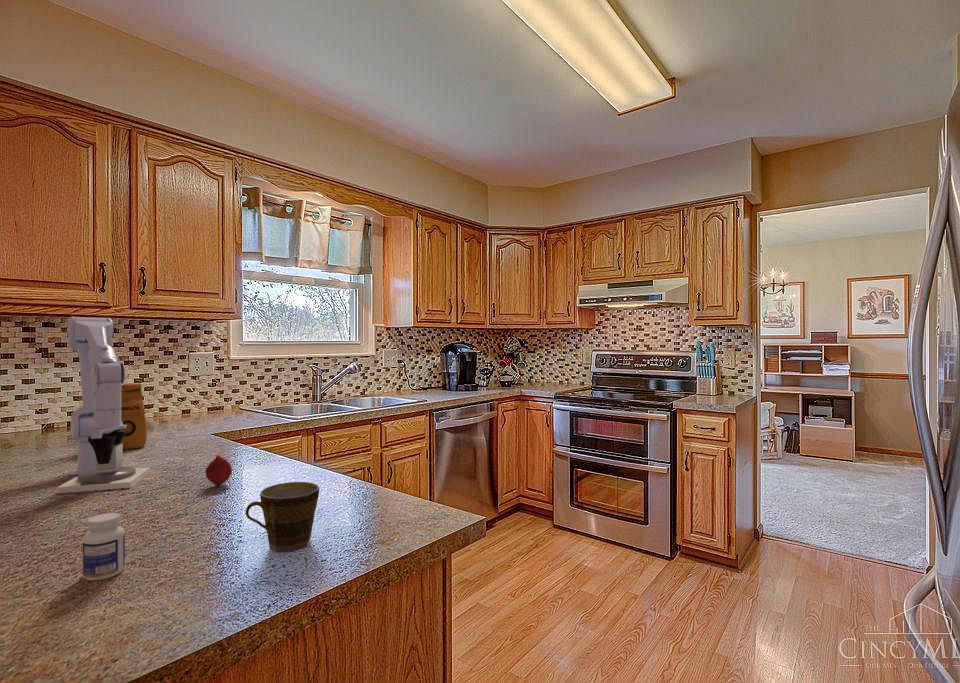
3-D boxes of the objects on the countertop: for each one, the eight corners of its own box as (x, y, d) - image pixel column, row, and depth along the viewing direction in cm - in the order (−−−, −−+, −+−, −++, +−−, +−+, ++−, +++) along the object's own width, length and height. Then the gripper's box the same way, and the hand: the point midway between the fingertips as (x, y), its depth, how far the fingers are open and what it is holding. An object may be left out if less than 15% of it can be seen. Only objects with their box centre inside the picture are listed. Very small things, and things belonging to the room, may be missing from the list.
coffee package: (148, 448, 168) (148, 384, 168) (102, 453, 160) (102, 386, 160) (144, 443, 176) (145, 382, 176) (101, 448, 168) (101, 384, 168)
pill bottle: (98, 566, 80) (98, 511, 80) (132, 565, 80) (132, 510, 80) (73, 582, 75) (74, 523, 75) (110, 581, 75) (110, 522, 75)
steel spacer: (102, 466, 129) (103, 443, 129) (122, 465, 130) (122, 443, 130) (95, 471, 125) (95, 447, 125) (115, 469, 126) (116, 446, 126)
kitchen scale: (85, 477, 132) (85, 467, 132) (150, 472, 137) (150, 463, 137) (57, 493, 118) (57, 483, 118) (130, 487, 123) (130, 477, 123)
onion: (236, 483, 127) (236, 452, 127) (222, 489, 122) (222, 457, 122) (215, 482, 128) (215, 451, 128) (200, 488, 122) (200, 456, 122)
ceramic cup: (300, 530, 96) (300, 478, 96) (330, 543, 89) (330, 488, 89) (232, 551, 86) (232, 494, 86) (260, 568, 79) (260, 506, 79)
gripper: (114, 412, 122) (114, 467, 122) (135, 405, 136) (135, 454, 136) (80, 413, 120) (80, 469, 120) (105, 406, 133) (105, 456, 133)
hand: (107, 461), depth 127 cm, fingers closed on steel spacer, 4 cm apart
